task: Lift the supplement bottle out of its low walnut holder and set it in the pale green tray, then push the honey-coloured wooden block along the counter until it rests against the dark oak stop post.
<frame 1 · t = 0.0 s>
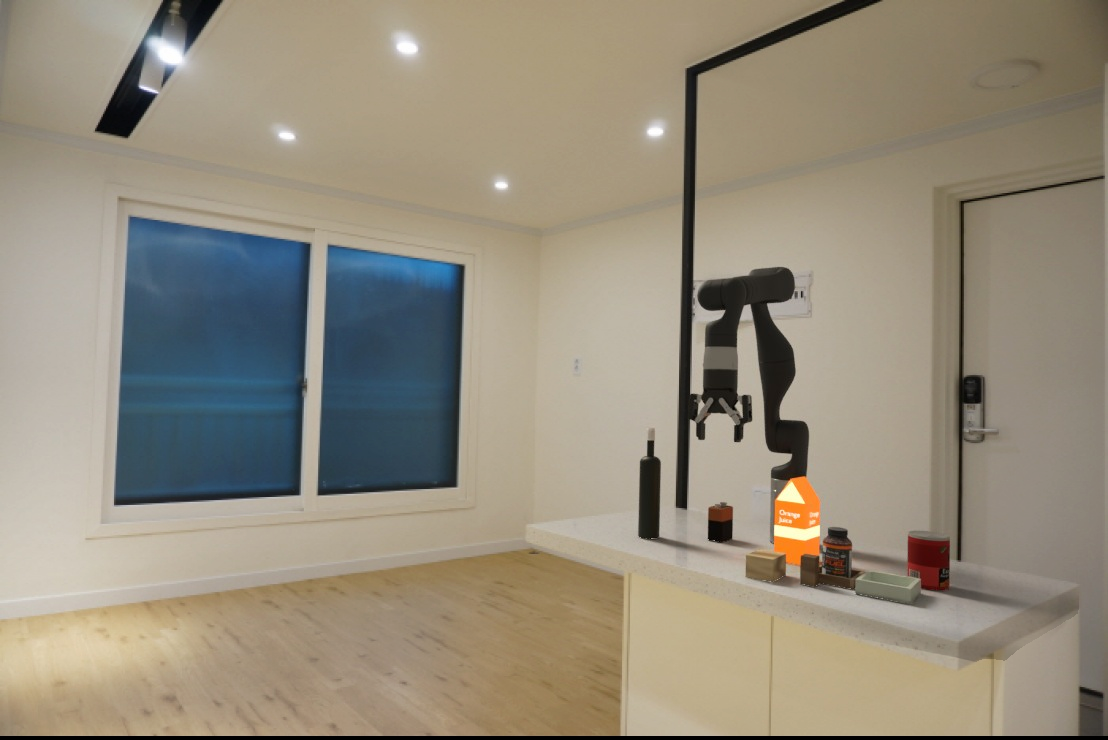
hand: (719, 441, 155), 29 cm above the counter, tool pointing down, fingers open, 8 cm apart
supplement bottle: (836, 581, 151), resting in holder
orange juice: (796, 561, 170), on the counter
wine bottle: (648, 537, 193), on the counter
canned food: (928, 586, 149), on the counter
tray: (888, 593, 142), on the counter
holder: (836, 580, 151), on the counter
natural wood cube: (765, 577, 154), on the counter
battery: (720, 540, 191), on the counter
stop post: (809, 584, 148), on the counter
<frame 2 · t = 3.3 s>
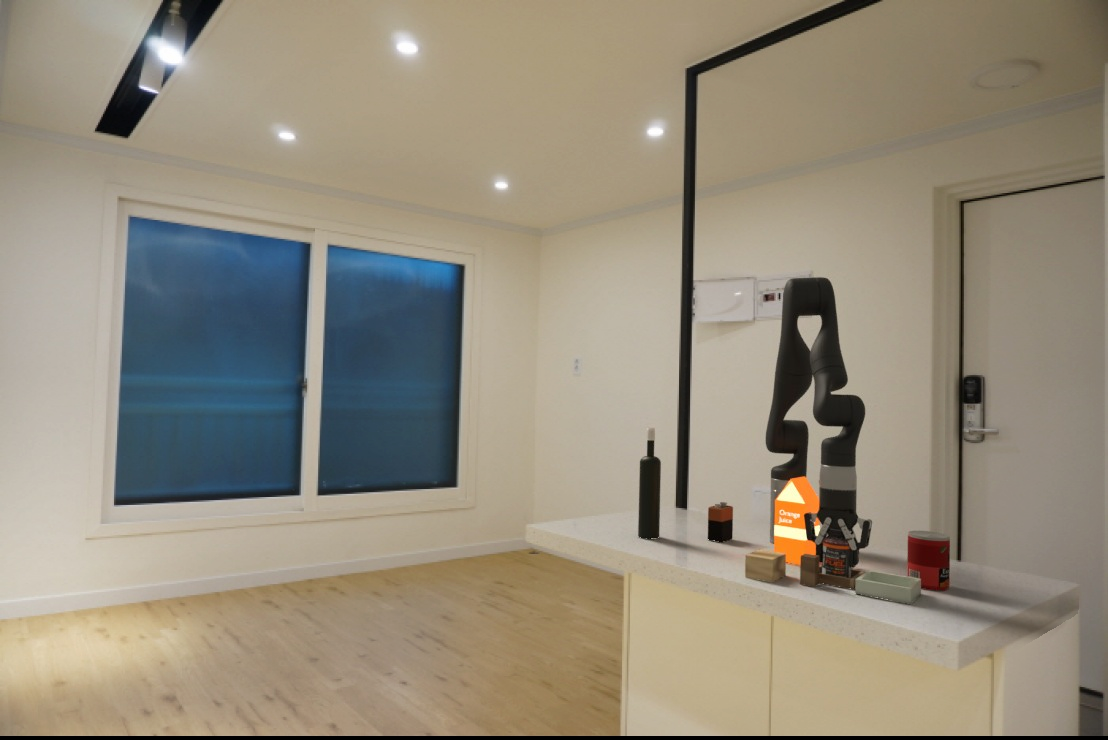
hand: (836, 563, 151), 4 cm above the counter, tool pointing down, fingers closed on supplement bottle, 6 cm apart
supplement bottle: (836, 581, 151), resting in holder, touching gripper
everything else where it was.
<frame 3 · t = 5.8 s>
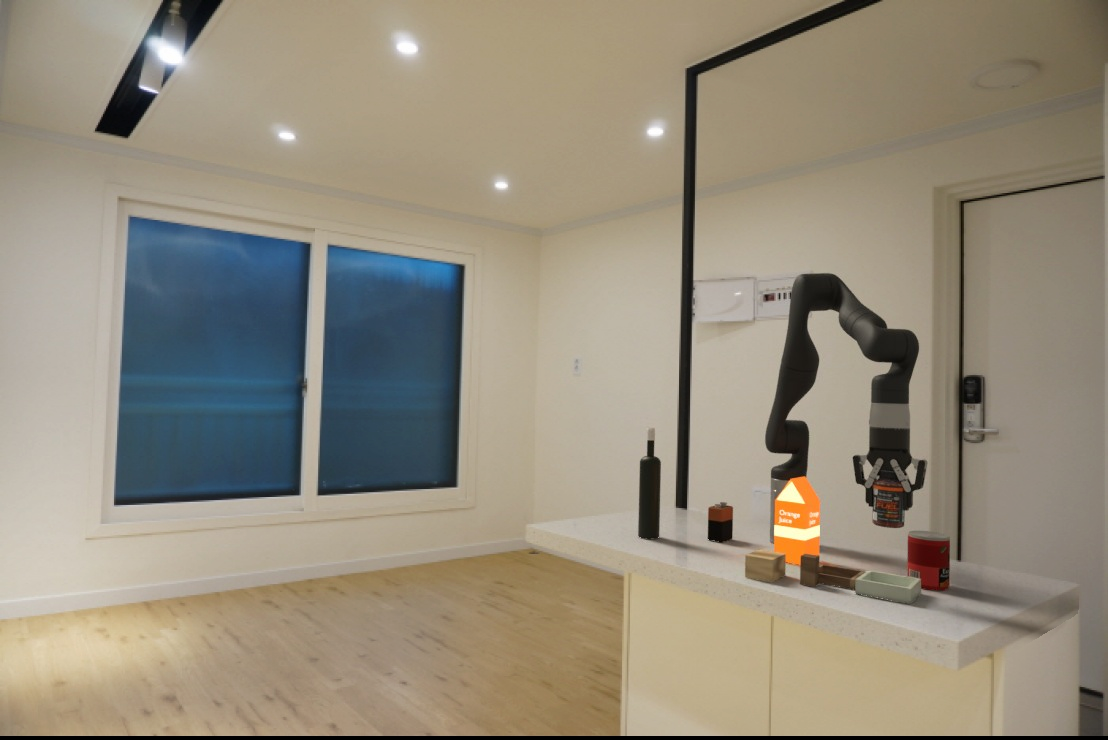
hand: (888, 507, 143), 17 cm above the counter, tool pointing down, fingers closed on supplement bottle, 6 cm apart
supplement bottle: (888, 526, 143), point 14 cm above the counter, touching gripper
everything else where it was.
when the fingers open (5 cm above the counter, at t = 8.5 s): supplement bottle drops 1 cm, resting on tray.
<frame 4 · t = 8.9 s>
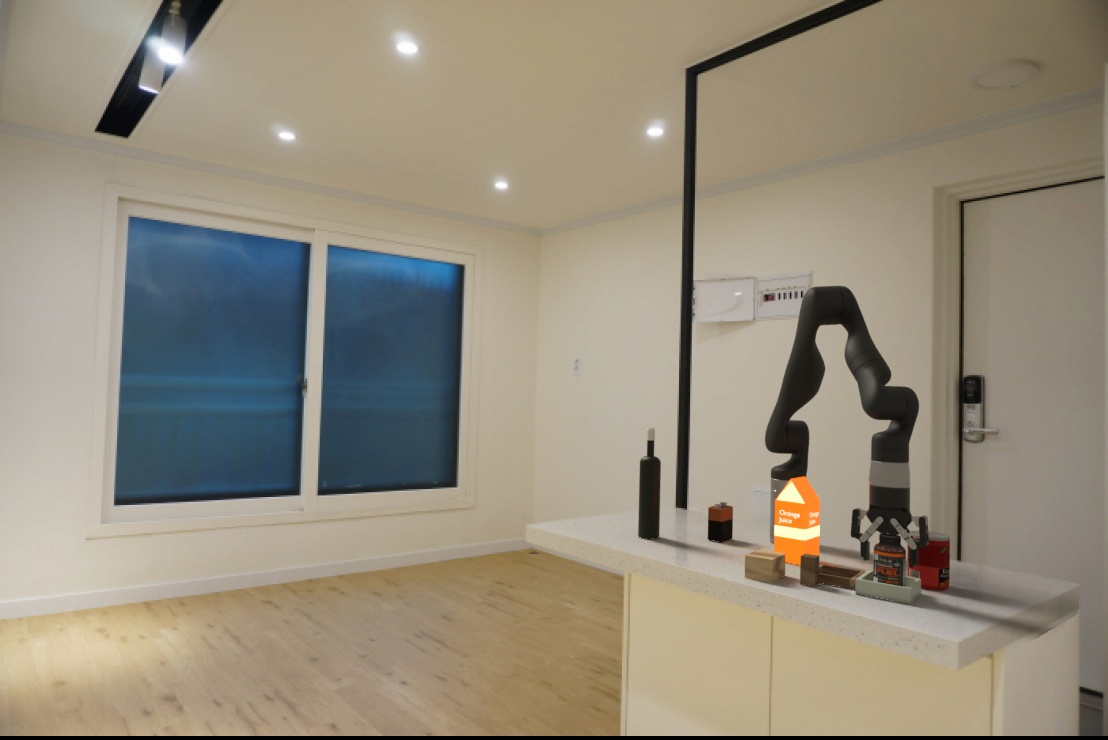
hand: (888, 563, 142), 6 cm above the counter, tool pointing down, fingers open, 8 cm apart
supplement bottle: (889, 591, 142), resting on tray
everything else where it was.
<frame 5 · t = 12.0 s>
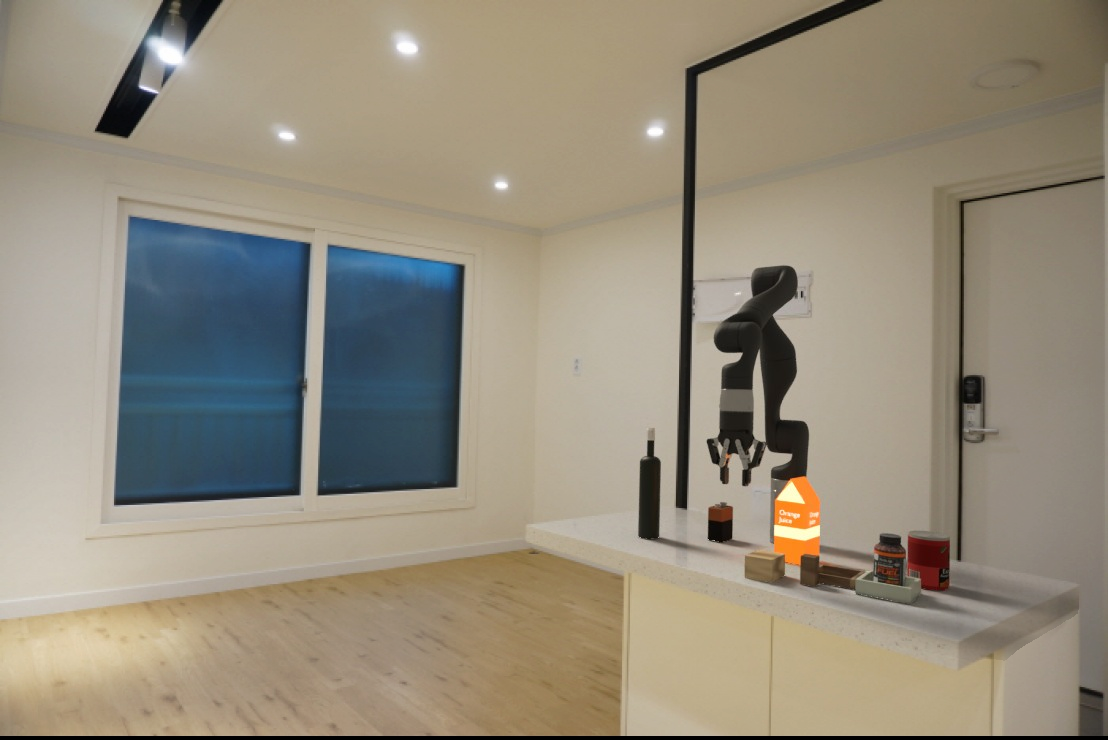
hand: (735, 484, 159), 19 cm above the counter, tool pointing down, fingers open, 4 cm apart
nothing on the counter moved.
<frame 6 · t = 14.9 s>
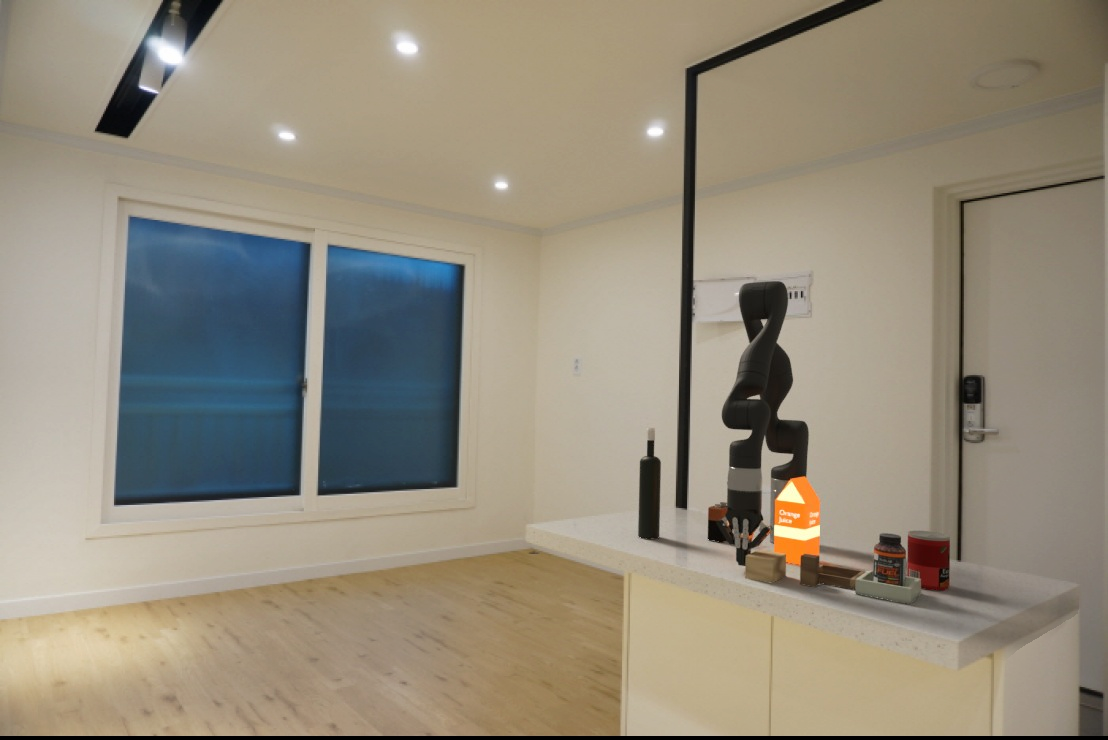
hand: (743, 564, 157), 2 cm above the counter, tool pointing down, fingers closed
natural wood cube: (765, 577, 153), on the counter, touching gripper
everything else where it was.
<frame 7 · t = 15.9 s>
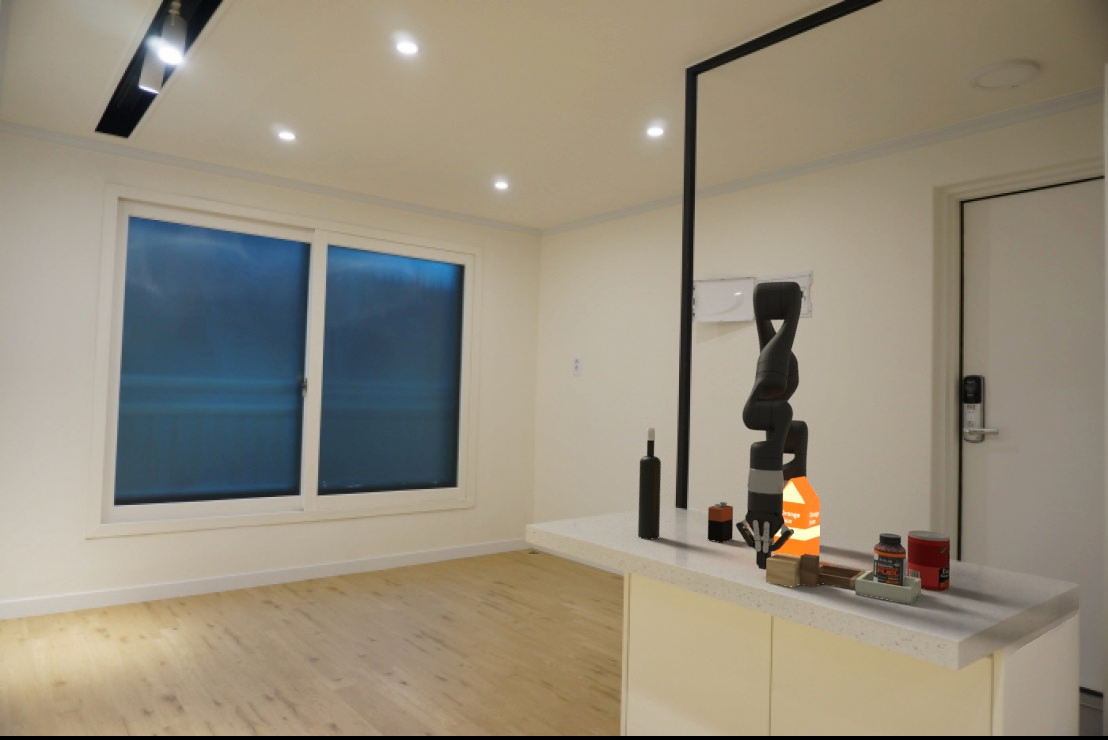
hand: (763, 568, 154), 2 cm above the counter, tool pointing down, fingers closed
natural wood cube: (786, 581, 150), on the counter, touching gripper, stop post
everything else where it was.
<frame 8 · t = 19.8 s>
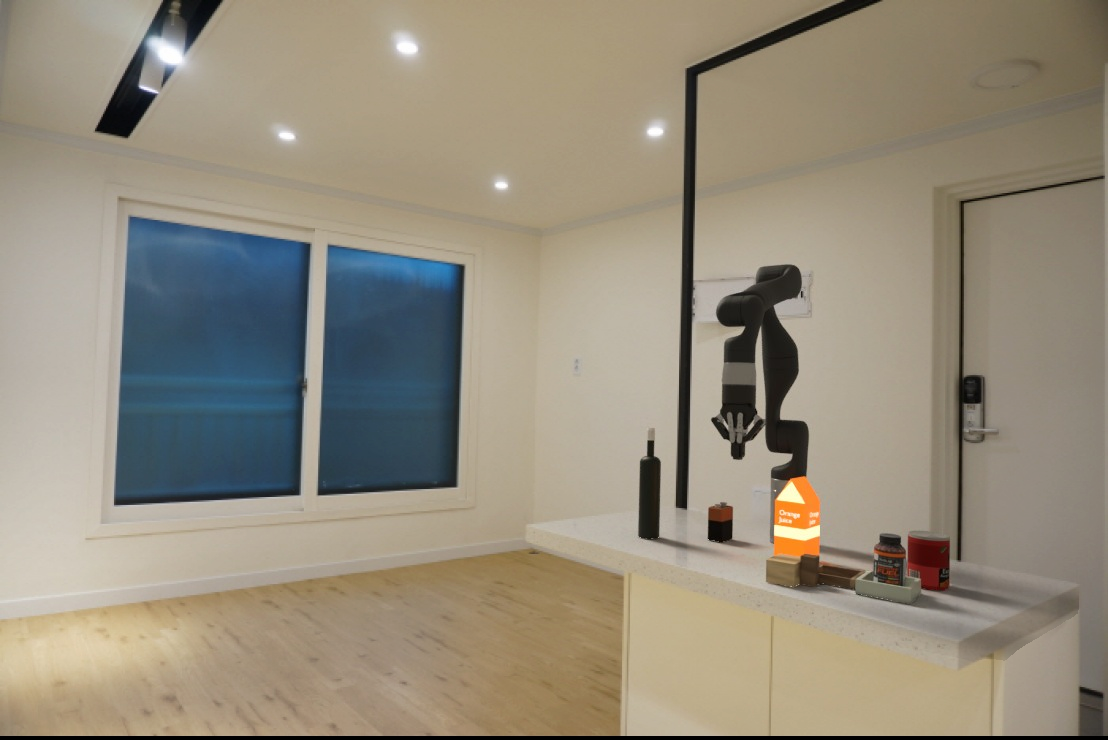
hand: (737, 459, 159), 25 cm above the counter, tool pointing down, fingers closed
natural wood cube: (786, 582, 150), on the counter
everything else where it was.
at the end: supplement bottle 0.1 cm from the tray (horizontally); supplement bottle tilted 0°; natural wood cube 1.0 cm from the target spot, on the counter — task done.
